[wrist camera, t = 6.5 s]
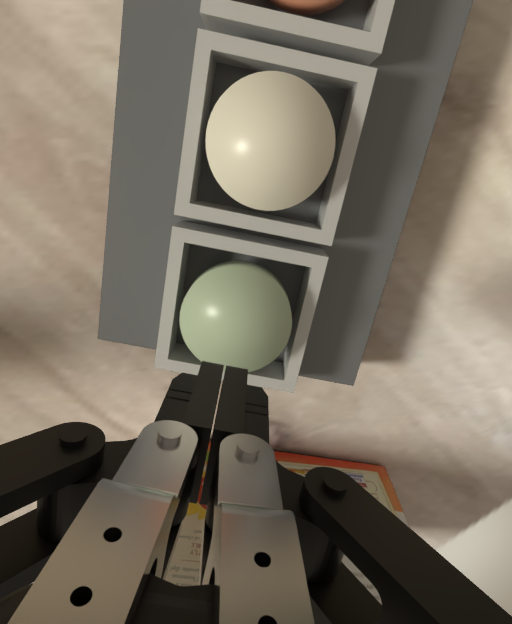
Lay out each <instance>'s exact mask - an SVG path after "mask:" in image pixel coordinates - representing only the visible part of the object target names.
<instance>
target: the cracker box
mask: <svg viewBox="0 0 512 624" xmlns="http://www.w3.org/2000/svg"><path fill="white" fill-rule="evenodd" d="M210 445H211V442H209V445H208V450H207V455H206V460H205V465H204V470H203V475H202V480H201V485H200V490H199V495H198V500H197V504H195V503H189V506H188V510H187V514H186V516H185V518H184V519H183V522H182V527H181V531H180V534H179V537H178V541H177V544H176V547H175V550H174V553H173V556H172V559H171V562H170V565H169V568H168V572H167V575H166V578H165V580H166V581H168V582H171V583H173V584H175V585H178V586H196V585H198V578H199V565H200V551H201V538H202V530H203V525H204V520H205V515H206V509H207V505H202V504H200V498H201V493H202V488H203V482H204V477H205V472H206V467H207V461H208V456H209V451H210ZM274 454H275V459H276V461H277V462H278V463H279V464H281V465H282V466H283V467H285V468H286V469H288V470H290V471H292V472H295V473H297V474H299V475H302V476H304V477H305V476H306V474H307V472H308V471H309V470H311V469H313V468H316V467H330V468H334V469H337V470H340V471H342V472H344V473H346V474H347V475H349V476H350V477H351V478H353V479H354V480H355V481H356V482H357V483H358V484H360V485H361V486H362V487H363V488H364V489H365V490H366V491H368V492H369V493H370V494H371V495H372V496H373V497H375V498H376V499H377V500H378V501H379V502H380V503H381V504H383V505H384V506H385V507H386V508H387V509H388V510H389V511H391V512H392V513H393V514H394V515H395V516H396V517H398V518H399V519H400V520H401V521H402V522H403V523H404V524H406V525H407V526H408V527H409V525H408V522H407V520H406V517H405V515H404V512H403V510H402V507H401V505H400V503H399V500H398V498H397V495H396V493H395V490H394V488H393V485H392V483H391V481H390V479H389V476H388V474H387V472H386V469H385V467H384V466H380V465H372V464H365V463H357V462H350V461H343V460H336V459H328V458H321V457H315V456H306V455H300V454H292V453H286V452H278V451H274ZM409 528H410V527H409ZM342 563H343V564H344V565H345V566H346V567H347V568H348V569H349V570H350V571H351V572H352V573H353V574H354V575H355V577H356V578H357V579H358V580H359V581H360V582H361V583H362V584H363V585H364V586H365V587H366V588H367V590H368V591H369V592H370V593H371V594H372V595H373V596H374V597H375V598H376V599H377V600H378V601H379V603H380V604H381V605H382V602H381V598H380V596H379V593H378V591H377V590H376V588H375V587H374V585H373V584H372V583H371V582H370V581H369V580H368V579H367V578H366V577H365V576H364V575H363V574H362V572H361V571H360V570H359V569H358V568H357V567H356V566H355V565H354V564H353V563H352V562H351V561H350V560H349V559H348V558H347V557H346V556H345V554H344V555H343V558H342Z"/></svg>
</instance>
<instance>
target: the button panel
mask: <svg viewBox="0 0 512 624" xmlns="http://www.w3.org/2000/svg"><path fill="white" fill-rule="evenodd" d="M472 3H473V0H345V1H344V2H343V3H342V4H340V5H339V6H337V7H336V8H334V9H332V10H330V11H327V12H324V13H321V14H316V15H297V14H293V13H290V12H287V11H285V10H283V9H281V8H279V7H277V6H276V5H274V4H273V3H272V2H271V1H270V0H124V4H123V17H122V30H121V43H120V56H119V69H118V82H117V95H116V108H115V121H114V134H113V147H112V160H111V173H110V187H109V200H108V213H107V226H106V239H105V252H104V265H103V278H102V291H101V304H100V317H99V330H98V339H102V340H107V341H112V342H118V343H123V344H129V345H134V346H140V347H145V348H150V349H156V357H155V364H154V368H157V369H163V370H168V371H174V372H179V373H188V374H193V375H198V372H199V369H200V366H201V363H202V362H201V361H200V360H199V359H198V358H197V357H195V356H194V354H193V353H192V352H191V351H190V350H189V348H188V347H187V345H186V343H185V341H184V339H183V336H182V333H181V329H180V320H179V319H180V310H181V305H182V303H183V300H184V298H185V296H186V294H187V292H188V291H189V289H190V287H191V286H192V284H193V283H194V281H195V280H196V279H197V277H198V276H199V275H200V274H201V273H203V272H204V271H205V270H207V269H208V268H210V267H212V266H214V265H216V264H218V263H222V262H225V261H232V260H241V261H248V262H252V263H255V264H258V265H260V266H262V267H264V268H266V269H267V270H269V271H270V272H271V273H273V274H274V275H275V276H276V277H277V278H278V280H279V281H280V282H281V284H282V285H283V287H284V289H285V291H286V293H287V296H288V299H289V304H290V309H291V314H292V329H291V334H290V337H289V340H288V342H287V344H286V346H285V348H284V349H283V351H282V352H281V353H280V355H279V356H278V357H277V358H276V359H275V360H273V361H272V362H271V363H269V364H268V365H266V366H264V367H262V368H260V369H258V370H255V371H251V372H248V378H247V385H252V386H257V387H262V388H267V389H273V390H278V391H284V392H289V393H294V390H295V386H296V382H297V378H298V376H303V377H308V378H314V379H319V380H324V381H330V382H335V383H341V384H346V385H352V386H353V385H354V382H355V379H356V376H357V372H358V369H359V366H360V363H361V360H362V356H363V353H364V350H365V347H366V343H367V340H368V337H369V334H370V331H371V327H372V324H373V321H374V318H375V315H376V311H377V308H378V305H379V302H380V298H381V295H382V292H383V289H384V286H385V282H386V279H387V276H388V273H389V270H390V266H391V263H392V260H393V257H394V253H395V250H396V247H397V244H398V241H399V237H400V234H401V231H402V228H403V224H404V221H405V218H406V215H407V212H408V208H409V205H410V202H411V199H412V196H413V192H414V189H415V186H416V183H417V179H418V176H419V173H420V170H421V167H422V163H423V160H424V157H425V154H426V151H427V147H428V144H429V141H430V138H431V134H432V131H433V128H434V125H435V122H436V118H437V115H438V112H439V109H440V105H441V102H442V99H443V96H444V93H445V89H446V86H447V83H448V80H449V77H450V73H451V70H452V67H453V64H454V60H455V57H456V54H457V51H458V48H459V44H460V41H461V38H462V35H463V31H464V28H465V25H466V22H467V19H468V15H469V12H470V9H471V6H472ZM262 71H280V72H286V73H289V74H292V75H295V76H297V77H299V78H301V79H303V80H304V81H306V82H307V83H309V84H310V85H311V86H312V87H313V88H314V89H315V90H316V91H317V92H318V93H319V94H320V95H321V97H322V98H323V100H324V101H325V103H326V105H327V107H328V109H329V111H330V113H331V116H332V119H333V123H334V128H335V151H334V157H333V161H332V164H331V167H330V169H329V171H328V174H327V175H326V177H325V179H324V180H323V182H322V183H321V185H320V186H319V187H318V189H317V190H316V191H315V192H314V193H313V194H312V195H310V196H309V197H308V198H307V199H305V200H304V201H302V202H300V203H299V204H297V205H294V206H292V207H290V208H286V209H282V210H276V211H264V210H257V209H253V208H250V207H247V206H245V205H243V204H241V203H239V202H238V201H236V200H234V199H233V198H232V197H231V196H229V195H228V194H227V193H226V192H225V191H224V190H223V189H222V187H221V186H220V185H219V183H218V182H217V180H216V179H215V177H214V175H213V173H212V171H211V168H210V166H209V162H208V159H207V153H206V141H205V139H206V129H207V125H208V121H209V118H210V115H211V112H212V110H213V108H214V106H215V104H216V103H217V101H218V100H219V98H220V97H221V95H222V94H223V93H224V92H225V91H226V90H227V89H228V88H229V87H230V86H231V85H232V84H234V83H235V82H237V81H238V80H240V79H241V78H244V77H246V76H248V75H250V74H253V73H257V72H262ZM224 374H225V372H223V373H222V379H221V380H223V379H224Z"/></svg>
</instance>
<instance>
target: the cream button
mask: <svg viewBox="0 0 512 624" xmlns="http://www.w3.org/2000/svg"><path fill="white" fill-rule="evenodd" d="M205 141H206V153H207V159H208V162H209V166H210V168H211V171H212V173H213V175H214V177H215V179H216V180H217V182H218V183H219V185H220V186H221V187H222V189H223V190H224V191H225V192H226V193H227V194H228V195H229V196H231V197H232V198H233V199H234V200H236V201H238V202H239V203H241V204H243V205H245V206H247V207H250V208H253V209H257V210H264V211H276V210H282V209H286V208H290V207H292V206H294V205H297V204H299V203H300V202H302V201H304V200H305V199H307V198H308V197H309V196H310V195H312V194H313V193H314V192H315V191H316V190H317V189H318V187H319V186H320V185H321V183H322V182H323V180H324V179H325V177H326V175H327V174H328V171H329V169H330V167H331V164H332V161H333V157H334V151H335V128H334V123H333V119H332V116H331V113H330V111H329V109H328V107H327V105H326V103H325V101H324V100H323V98H322V97H321V95H320V94H319V93H318V92H317V91H316V90H315V89H314V88H313V87H312V86H311V85H310V84H309V83H307V82H306V81H304V80H303V79H301V78H299V77H297V76H295V75H292V74H289V73H286V72H280V71H262V72H257V73H253V74H250V75H248V76H246V77H244V78H241V79H240V80H238V81H237V82H235V83H234V84H232V85H231V86H230V87H229V88H228V89H227V90H226V91H225V92H224V93H223V94H222V95H221V97H220V98H219V100H218V101H217V103H216V104H215V106H214V108H213V110H212V112H211V115H210V118H209V121H208V125H207V129H206V139H205Z"/></svg>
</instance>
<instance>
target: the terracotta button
mask: <svg viewBox="0 0 512 624" xmlns="http://www.w3.org/2000/svg"><path fill="white" fill-rule="evenodd" d="M270 1H271V2H272V3H273V4H274V5H276V6H277V7H279V8H281V9H283V10H285V11H287V12H290V13H293V14H297V15H316V14H321V13H324V12H327V11H330V10H332V9H334V8H336V7H337V6H339V5H340V4H342V3H343V2H344V1H345V0H270Z"/></svg>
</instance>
